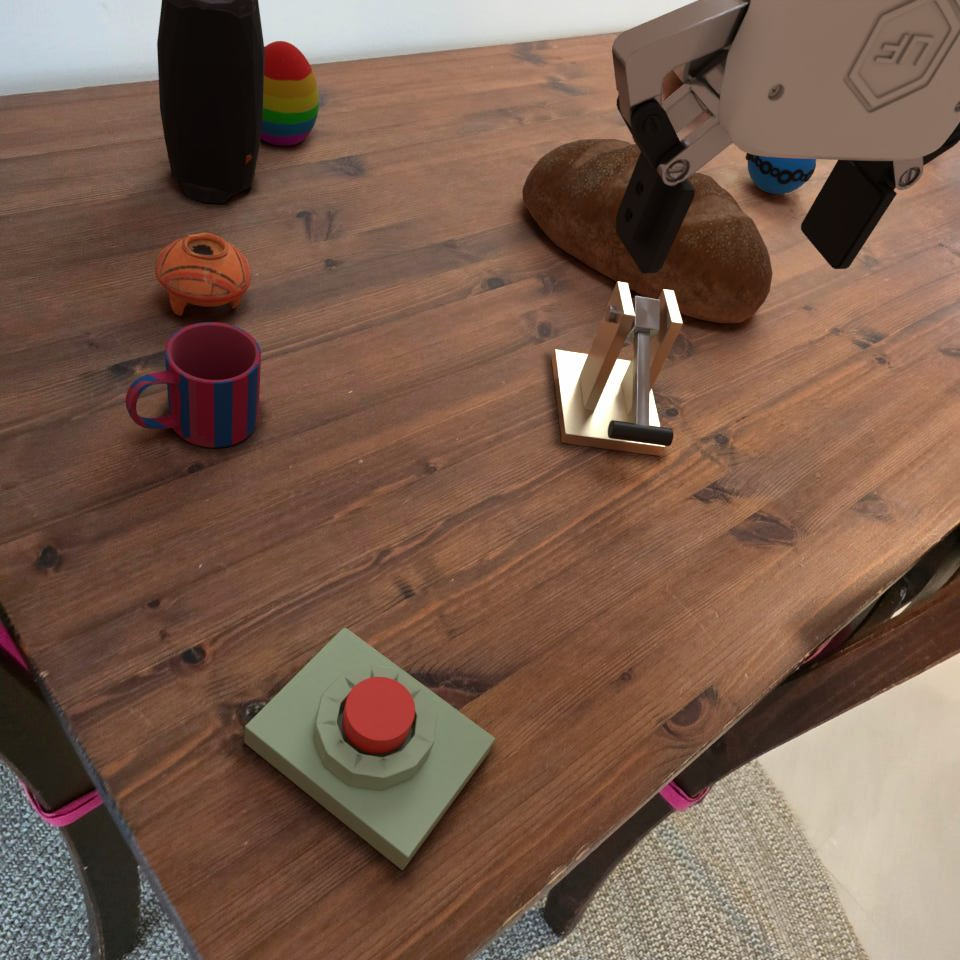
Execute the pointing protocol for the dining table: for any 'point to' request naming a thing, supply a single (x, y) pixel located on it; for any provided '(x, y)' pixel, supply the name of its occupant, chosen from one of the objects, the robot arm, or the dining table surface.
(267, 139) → the decorative egg
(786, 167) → the ornament
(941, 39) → the robot arm
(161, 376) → the cup
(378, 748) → the button
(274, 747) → the switch box
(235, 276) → the pot
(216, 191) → the portable speaker
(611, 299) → the switch bracket
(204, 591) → the dining table surface
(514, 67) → the dining table surface
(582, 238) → the bread
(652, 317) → the switch lever
